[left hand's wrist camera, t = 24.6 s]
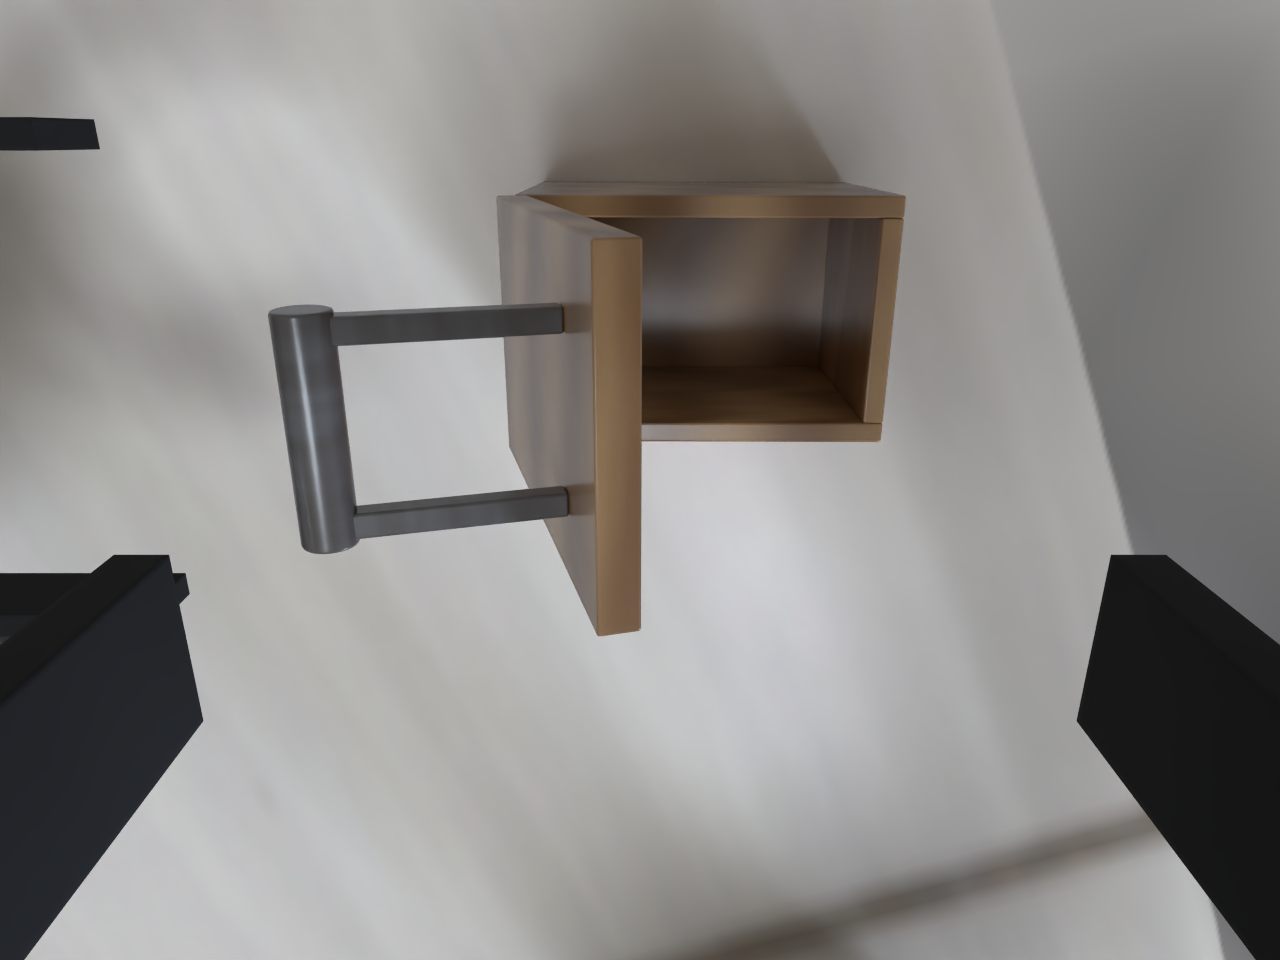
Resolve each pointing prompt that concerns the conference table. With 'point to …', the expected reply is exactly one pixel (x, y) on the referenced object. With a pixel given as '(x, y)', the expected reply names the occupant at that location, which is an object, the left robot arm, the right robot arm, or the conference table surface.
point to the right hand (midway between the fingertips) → (123, 391)
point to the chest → (757, 304)
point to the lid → (536, 403)
